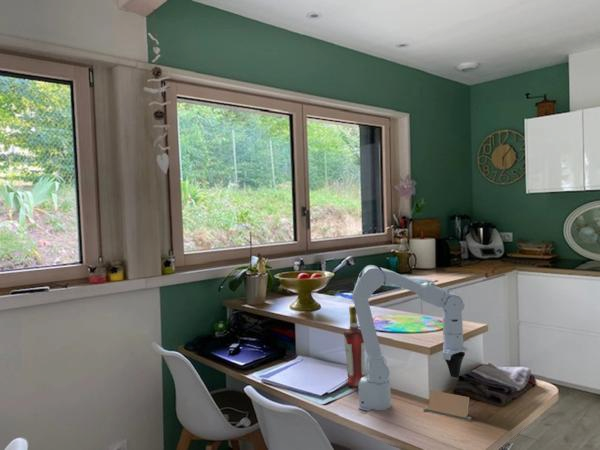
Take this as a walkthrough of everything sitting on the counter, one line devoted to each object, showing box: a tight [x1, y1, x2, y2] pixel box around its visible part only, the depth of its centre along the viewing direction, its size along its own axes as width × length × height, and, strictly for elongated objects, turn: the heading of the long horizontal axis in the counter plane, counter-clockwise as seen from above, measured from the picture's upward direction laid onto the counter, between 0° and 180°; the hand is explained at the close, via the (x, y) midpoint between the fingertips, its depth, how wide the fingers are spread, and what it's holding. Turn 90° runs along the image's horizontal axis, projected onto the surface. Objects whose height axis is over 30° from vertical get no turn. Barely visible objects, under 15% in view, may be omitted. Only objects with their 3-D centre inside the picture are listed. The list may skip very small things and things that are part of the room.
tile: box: [427, 389, 470, 421], centre depth 131 cm, size 11×6×1 cm
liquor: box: [343, 305, 366, 389], centre depth 158 cm, size 7×7×28 cm
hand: (454, 376), depth 137 cm, fingers closed
